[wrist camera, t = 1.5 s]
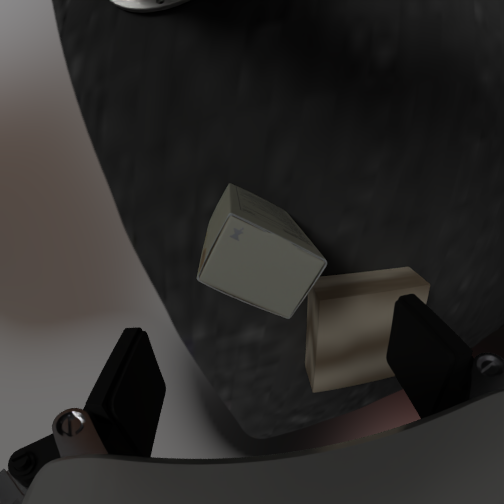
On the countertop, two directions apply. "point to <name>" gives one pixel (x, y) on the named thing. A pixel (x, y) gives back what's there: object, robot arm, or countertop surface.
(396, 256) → the countertop surface
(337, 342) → the birch block
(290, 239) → the skincare box
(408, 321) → the robot arm
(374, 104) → the countertop surface
